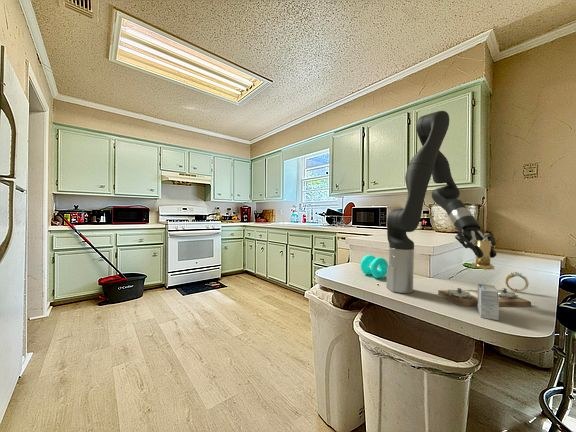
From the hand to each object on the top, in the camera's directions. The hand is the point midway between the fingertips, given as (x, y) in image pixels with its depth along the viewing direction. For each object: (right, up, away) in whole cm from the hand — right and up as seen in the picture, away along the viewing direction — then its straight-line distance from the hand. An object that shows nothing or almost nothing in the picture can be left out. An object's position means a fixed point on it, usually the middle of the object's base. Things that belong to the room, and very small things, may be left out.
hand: (487, 256), depth 89 cm
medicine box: (-9, -17, -11) cm, 22 cm away
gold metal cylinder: (0, -5, +2) cm, 5 cm away
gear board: (0, -16, +2) cm, 16 cm away
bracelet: (+21, -17, +12) cm, 30 cm away
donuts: (-29, -16, +33) cm, 47 cm away
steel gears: (0, -15, +2) cm, 15 cm away
